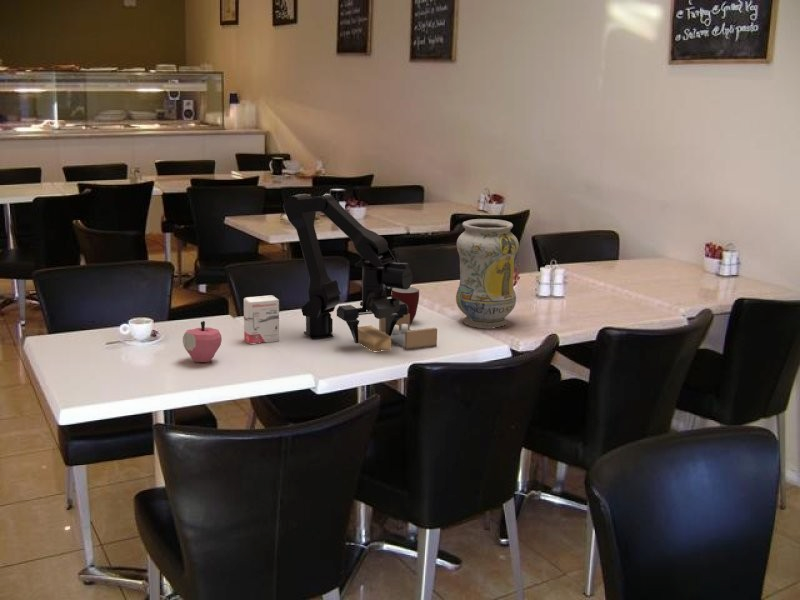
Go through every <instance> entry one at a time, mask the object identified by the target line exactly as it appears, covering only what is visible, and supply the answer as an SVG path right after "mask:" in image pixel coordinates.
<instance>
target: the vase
mask: <svg viewBox="0 0 800 600" xmlns="http://www.w3.org/2000/svg"><path fill="white" fill-rule="evenodd" d="M513 227H514V224H513V223H512V222H510V221H507V220H503V219H493V218H492V219H491V218H476V219H469V220H466V221H463V222H462V228H464V231H463V232H462V233H460V235H459V236H458V238H457V240H456V249H457V253H458V255H459V272H460V273H459V275H460V276H459V277H460V278H459V285H458V286H459V287H458V288H457V291H456V294H455V301H456V305H457V307H458V309H459V311H461V313H463V314H464V315H465V317H464V319H463V320H462V321H463V323H464V324H465V325H467V326H469V327H472V328H477V329H478V328H479V329H488V330H490V329H489V328H492V327H499V328H501V327H500V326H503V327H505V326H506V325H507V324H508V321H507V320H506V318H507V316H509V314H510V313H512V311H513V310H514V309H515V306H516V303H517V295H516V292H515V289H514V271H515V270H514V269H515V258H516V255H517V254H518V252H519V246H520V243H519V241H518V238H517V236H516V235H514V234H513V232H511V230H512V228H513ZM504 325H505V326H504ZM492 329H493V328H492Z"/></svg>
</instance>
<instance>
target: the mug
mask: <svg viewBox="0 0 800 600" xmlns="http://www.w3.org/2000/svg"><path fill="white" fill-rule="evenodd" d="M390 295H391V297H390V298H398V299H399V301H401V302H403V303H405V304H407V306H408V313H409V314H410V324H412V322H413V321H414V320H415V317H416V316H417V311H418V306H419V301H420V289H419V288H417V287H413V286H410V287H409V289H407V290H405V289H398V288H391V294H390Z"/></svg>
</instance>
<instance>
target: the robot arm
mask: <svg viewBox="0 0 800 600" xmlns="http://www.w3.org/2000/svg"><path fill="white" fill-rule="evenodd" d="M283 211H284V212H285V215H286V217H287V220H288V221H289V223H290V224H291V225H292V226H293V227H294V229H295V230H296V234H297V237H298V240H299V245H300V248H301V251H302V256H303V258H304V259H303V260H304V262H305V267H306V270H307V273H308V276H309V286H308V289H307V293H308V301H307V302H306V303H305V304H304V305H302V307H301V309H300V310H301V313H302V316H303V317H305V331H303V334H304V335H305V336H306V337H308V338H309V339H311V340H315V339H325V338H333V337H334V334H333V332H334V331H333V329H334V327H333V325H334V324H333V318H332V313H333V312H335V308H336V306H338V304H339V302H340V299H341V297H340V295H341V291H340V290H339V284H338V280H337V279H335V280H332V279H331V278H330V277H329V276H328V272H327V270H326V265H325V261H324V258H323V254H322V251H321V247H320V243H319V239H318V236H317V232H316V228H315V221H316V220H315V219H316V214H317V213H316V212H317V211H318V212H321V213H322V214H323V215H324V216H325V217H326V218H328V219H329V220H330V221H331V222H332V223H333V224H334V225H335V226H336V227H337V228H338V229H339V230H340V231H342V233H343V234H345V235H346V236H347V237H348V239H350V240H351V242H352V244H353V247H354V249H355V251H356V252H357V253H358V255H359V256H360V260H359V261H357V262H356V263H355V264H354V265H355V268H362V282H361V283H362V285H361V286H360V289H359V290H360V291H361V293H362V297H361V299H362V301H360V303H359V304H360V305H359V306H360V307H356V306H353V305H352V304H346V305H339V306H338V307H337V309H336V317H338V318H339V319H341V320H343V321H344V322H346V324H347V326H348V328H349V330H350V333H351V335H352V337H353V341H354V342H355V344H357V345H358V344H359V343H358V327H359V324H360V320H358V318H359V317H360V316H363V315H365V316H366V315H372V314H373V316H374V317H375V319H377V320H379V319H381V318H385V319H386V320H385V322H386V334H387V335H389V336H391V334H392V331H393V329H394V326H395V324H396V322H397V321H398V320H399V319H400V318H403V317H404V316H403V315H407V314H408V306H407V304H405V303H403V302H401V301H399V299H398V298H391V297H388V296H387V290H386V289H385V287H386V288H391V289H393V288H398V289H405V290H407V289H409V287H412V283H413V277H414V275H413V273H412V270H411V268H410V266H409V265H410V264H409V263H408V262H397V260H396V258H395V256H394V254H393V253H392V251H391V250H390V248H389V247H388V246H389V243H388V240H386V239H385V238H384V237H383V236H381V235H380V234H378V233H377V232H375V231H373V230H370V229H368V228H366V227H365V226H363V225H362V224H361V223H360V222H359V221H358V220H357V219H356V218H355V217H353V215H352V214H351V213H350V212H348V210H346V208H345V207H343V206H342V205H341V204H340V203H339V202H338V200H336V198H335V197H334V196H333V195H331V194H324V195H320V196H319V195H318V196H316V195H315V196H311V195H309V194H306V193H302V194H295V195H291V196H288V197H287V198H285V201H284V203H283ZM381 258H382V259H381Z"/></svg>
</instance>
